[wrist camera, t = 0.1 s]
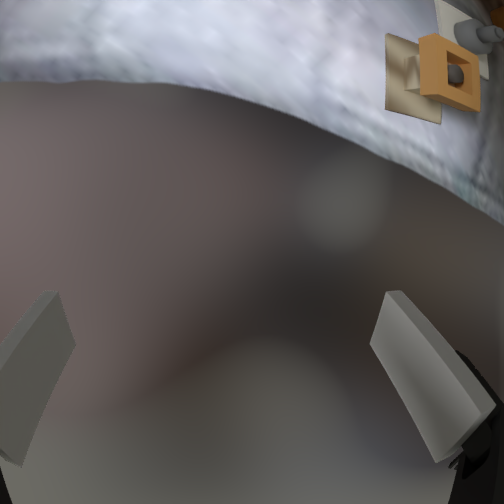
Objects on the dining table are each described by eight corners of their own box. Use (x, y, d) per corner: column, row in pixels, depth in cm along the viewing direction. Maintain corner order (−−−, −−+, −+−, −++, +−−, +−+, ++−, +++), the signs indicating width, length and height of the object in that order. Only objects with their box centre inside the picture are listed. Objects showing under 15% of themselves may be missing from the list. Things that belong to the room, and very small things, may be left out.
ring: (418, 38, 23) (434, 33, 20) (461, 58, 24) (478, 56, 21) (420, 95, 26) (437, 94, 23) (462, 111, 27) (480, 112, 24)
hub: (434, -1, 25) (471, -15, 16) (479, 26, 26) (515, 20, 17) (441, 56, 30) (483, 49, 20) (485, 79, 31) (524, 80, 22)
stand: (384, 34, 29) (424, 17, 19) (436, 54, 29) (479, 47, 20) (385, 109, 33) (428, 108, 24) (436, 123, 34) (481, 128, 25)
